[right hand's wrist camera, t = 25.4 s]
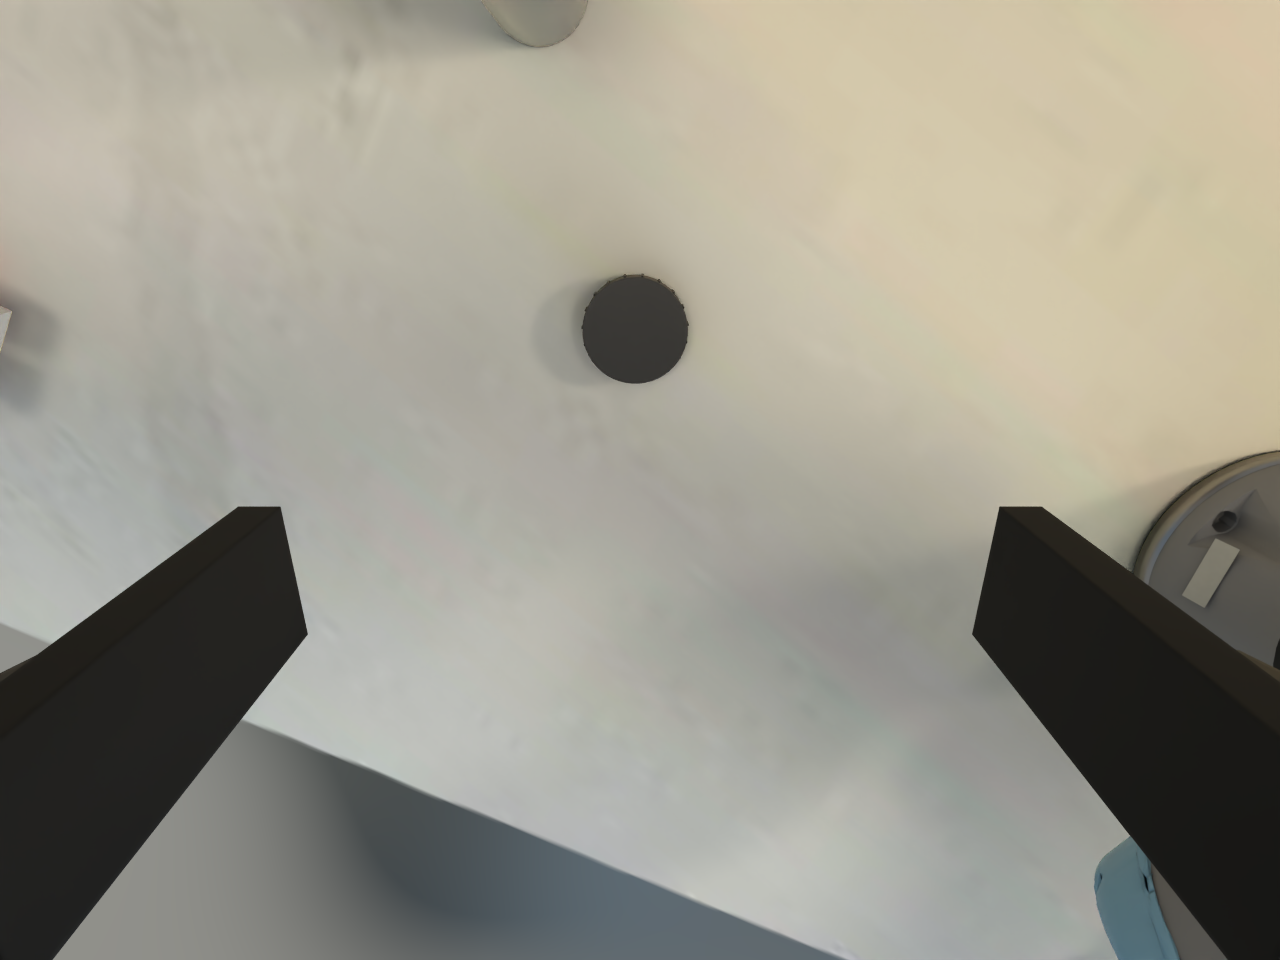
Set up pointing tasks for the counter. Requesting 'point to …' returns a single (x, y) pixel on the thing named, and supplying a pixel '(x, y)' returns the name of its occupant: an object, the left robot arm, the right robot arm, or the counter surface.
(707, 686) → the counter surface
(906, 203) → the counter surface
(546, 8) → the jar
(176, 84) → the counter surface
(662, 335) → the lid
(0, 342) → the toy
